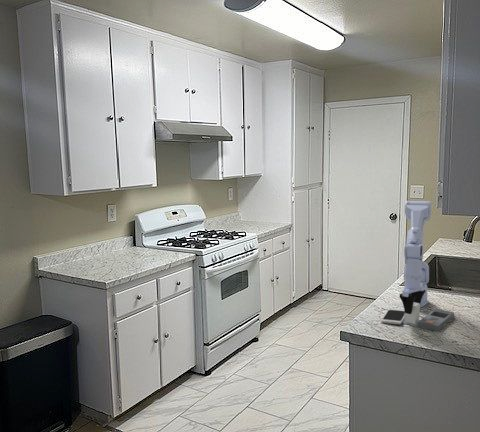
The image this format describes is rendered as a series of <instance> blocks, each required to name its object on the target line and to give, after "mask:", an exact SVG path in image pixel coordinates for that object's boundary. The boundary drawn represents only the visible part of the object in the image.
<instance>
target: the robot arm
mask: <svg viewBox="0 0 480 432" xmlns="http://www.w3.org/2000/svg"><path fill="white" fill-rule="evenodd" d="M431 212H432V202H431V200H426V201H425V200H422V201H421V200H406V201H405V203H404V214H405V218H406V220H407V221H410V229H408V230H407V235H406V244H405V245H404V249H403V255H404V256H403V257H404V265H403V267H404V268H403V281H404V286H403V290H402V292H401V293H400V294H399V299H400V300H401V302H402V306H403V310H405V313H407V314H411V313H412V308H413V303H414V302H415V303H420V308H423V307H424V306H425V305H427V304H428V303H430V300H428V292H429V291H428V290H429V289H428V285H427V284H428V283H429V282H430V281H429V280H430V267H429V264H428V263H427V262H425V261H424V260H423V259H424V252H425V251H424V250H425V249H424V225H425V223H426V222H428V221H430V219H431V215H432V213H431Z"/></svg>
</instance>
